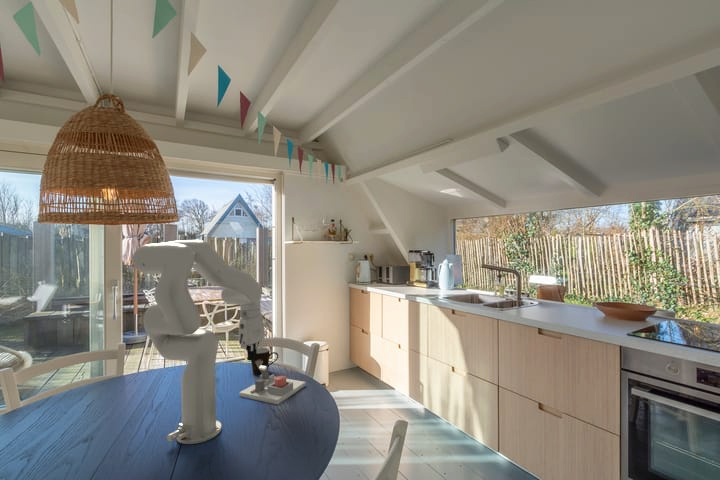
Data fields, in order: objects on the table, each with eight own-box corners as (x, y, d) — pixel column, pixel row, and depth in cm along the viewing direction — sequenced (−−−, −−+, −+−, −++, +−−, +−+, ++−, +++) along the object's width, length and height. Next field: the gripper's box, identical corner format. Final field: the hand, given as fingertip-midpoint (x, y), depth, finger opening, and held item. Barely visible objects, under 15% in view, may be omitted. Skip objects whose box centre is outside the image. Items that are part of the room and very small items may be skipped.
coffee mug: (246, 375, 155) (246, 352, 155) (257, 368, 163) (257, 347, 163) (269, 377, 152) (269, 354, 152) (279, 370, 160) (279, 348, 160)
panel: (277, 404, 126) (277, 393, 126) (239, 396, 133) (239, 385, 133) (305, 385, 142) (305, 375, 142) (270, 379, 150) (270, 370, 150)
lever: (269, 381, 143) (264, 368, 140) (263, 379, 144) (258, 367, 142) (271, 378, 144) (266, 366, 142) (265, 377, 145) (260, 365, 143)
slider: (260, 392, 132) (260, 382, 132) (255, 391, 133) (255, 381, 133) (264, 390, 134) (264, 379, 134) (259, 389, 135) (259, 379, 135)
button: (281, 393, 131) (281, 380, 131) (272, 391, 133) (272, 379, 133) (288, 388, 135) (288, 376, 135) (279, 386, 137) (279, 375, 137)
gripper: (244, 318, 128) (245, 368, 128) (270, 310, 142) (272, 355, 142) (228, 317, 131) (230, 365, 131) (256, 308, 145) (257, 352, 145)
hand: (252, 360), depth 137 cm, fingers closed
